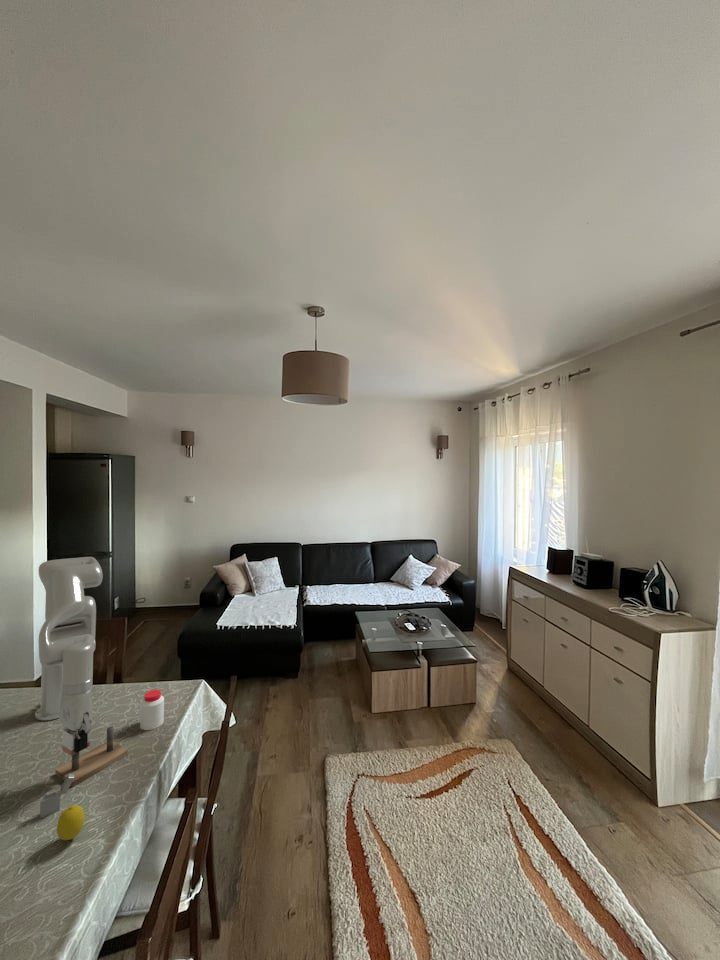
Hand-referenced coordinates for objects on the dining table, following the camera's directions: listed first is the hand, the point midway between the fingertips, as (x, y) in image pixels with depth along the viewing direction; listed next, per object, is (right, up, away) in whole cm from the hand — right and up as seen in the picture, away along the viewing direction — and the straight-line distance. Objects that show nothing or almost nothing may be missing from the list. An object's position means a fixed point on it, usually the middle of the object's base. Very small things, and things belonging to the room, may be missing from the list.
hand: (76, 746), depth 119 cm
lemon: (+14, -9, -21) cm, 27 cm away
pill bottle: (+9, -9, +26) cm, 29 cm away
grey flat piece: (+4, -9, -13) cm, 16 cm away
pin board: (+2, -9, +5) cm, 10 cm away
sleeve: (0, -1, 0) cm, 1 cm away
